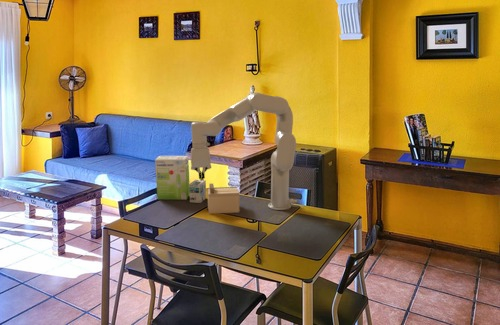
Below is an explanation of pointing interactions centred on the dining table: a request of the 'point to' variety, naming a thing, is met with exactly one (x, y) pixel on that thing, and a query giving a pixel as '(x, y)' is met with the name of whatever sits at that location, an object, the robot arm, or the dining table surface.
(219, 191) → the lid
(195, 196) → the light bulb box
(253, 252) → the dining table surface
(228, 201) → the carton
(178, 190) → the green product box
